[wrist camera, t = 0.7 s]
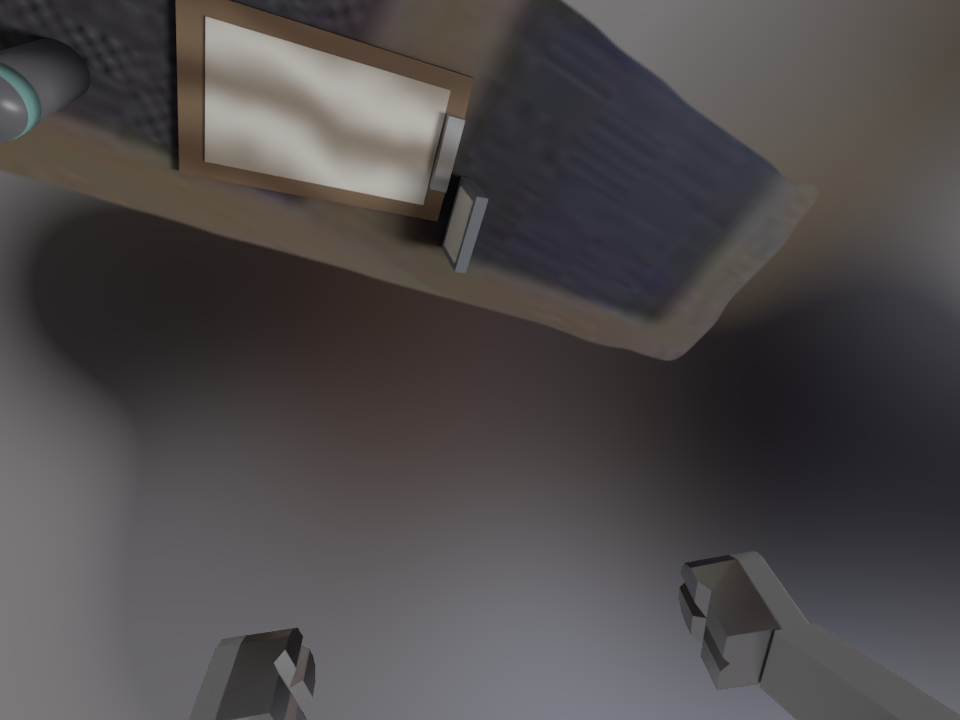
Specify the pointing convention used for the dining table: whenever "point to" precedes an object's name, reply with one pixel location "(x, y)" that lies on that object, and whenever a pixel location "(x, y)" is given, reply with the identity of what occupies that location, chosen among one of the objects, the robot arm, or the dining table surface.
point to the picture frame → (464, 224)
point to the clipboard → (313, 111)
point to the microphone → (37, 83)
